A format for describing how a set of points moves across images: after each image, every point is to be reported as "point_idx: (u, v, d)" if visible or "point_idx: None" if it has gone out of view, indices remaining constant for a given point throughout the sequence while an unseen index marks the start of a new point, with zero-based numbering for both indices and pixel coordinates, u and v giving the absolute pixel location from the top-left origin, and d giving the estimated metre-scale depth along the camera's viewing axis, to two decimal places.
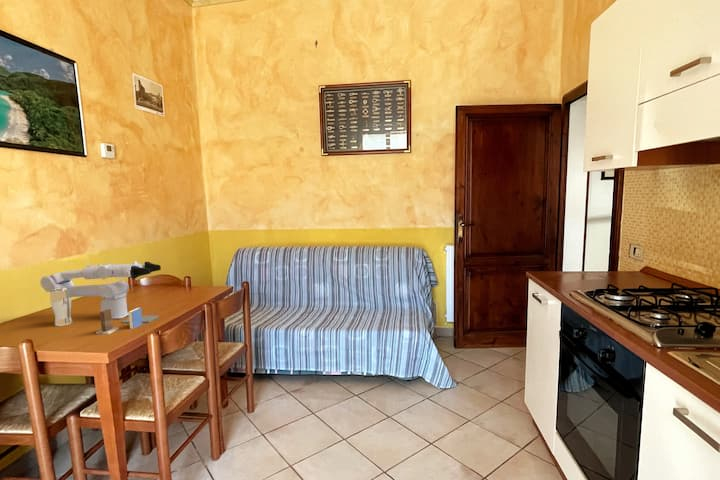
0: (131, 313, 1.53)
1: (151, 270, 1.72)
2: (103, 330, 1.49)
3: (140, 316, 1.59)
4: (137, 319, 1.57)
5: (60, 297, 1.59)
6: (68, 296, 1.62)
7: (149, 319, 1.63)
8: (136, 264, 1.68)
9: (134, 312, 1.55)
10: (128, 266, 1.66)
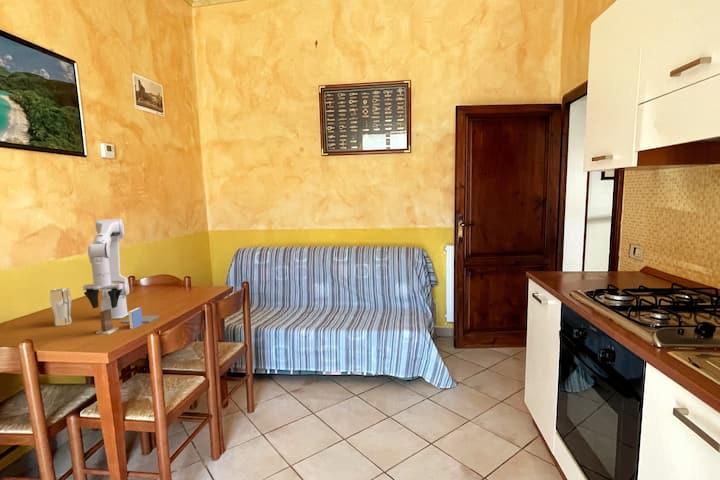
0: (131, 313, 1.53)
1: None
2: (103, 330, 1.49)
3: (140, 316, 1.59)
4: (137, 319, 1.57)
5: (60, 297, 1.59)
6: (68, 296, 1.62)
7: (149, 319, 1.63)
8: None
9: (134, 312, 1.55)
10: (93, 281, 1.47)
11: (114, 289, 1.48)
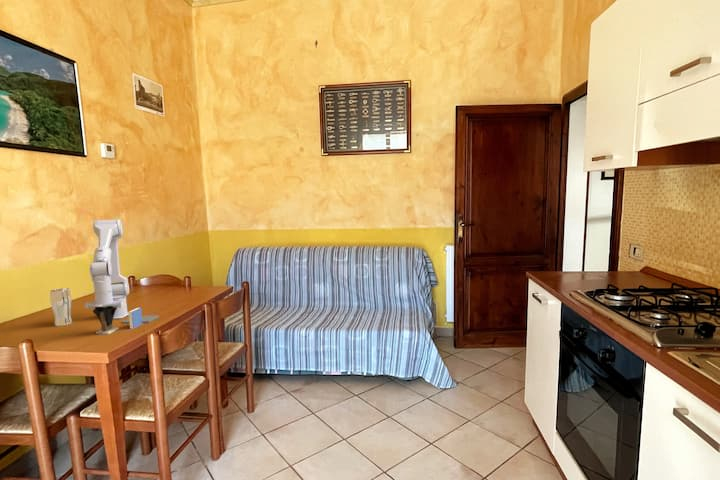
0: (131, 313, 1.53)
1: None
2: (103, 330, 1.49)
3: (140, 316, 1.59)
4: (137, 319, 1.57)
5: (60, 297, 1.59)
6: (68, 296, 1.62)
7: (149, 319, 1.63)
8: None
9: (134, 312, 1.55)
10: (95, 300, 1.48)
11: (116, 307, 1.49)
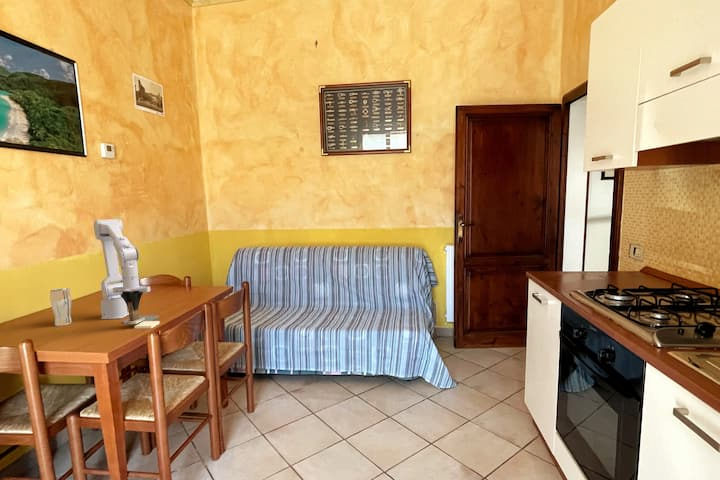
0: None
1: None
2: (131, 320, 1.55)
3: None
4: None
5: (60, 297, 1.59)
6: (68, 296, 1.62)
7: (149, 319, 1.63)
8: (127, 290, 1.53)
9: None
10: (123, 284, 1.53)
11: (142, 291, 1.54)
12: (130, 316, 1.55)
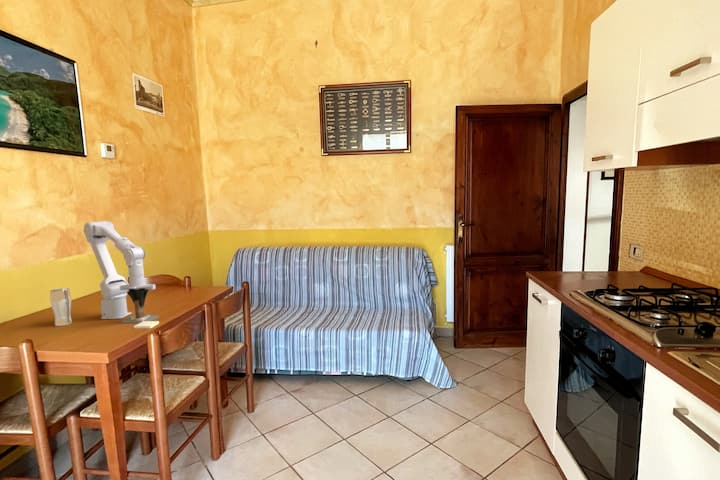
0: None
1: None
2: (137, 317, 1.63)
3: None
4: None
5: (60, 297, 1.59)
6: (68, 296, 1.62)
7: (149, 319, 1.63)
8: None
9: None
10: None
11: (148, 289, 1.63)
12: (136, 313, 1.63)
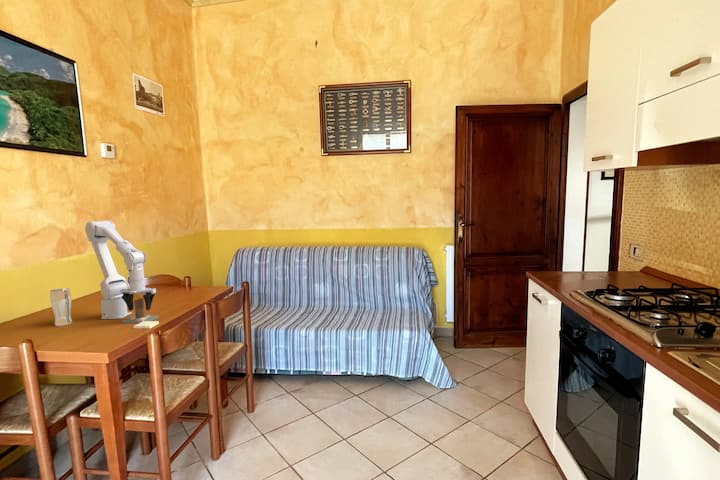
0: (148, 328, 1.54)
1: None
2: (137, 317, 1.63)
3: None
4: None
5: (60, 297, 1.59)
6: (68, 296, 1.62)
7: (149, 319, 1.63)
8: (134, 292, 1.61)
9: None
10: (130, 286, 1.61)
11: (148, 293, 1.63)
12: (136, 313, 1.63)
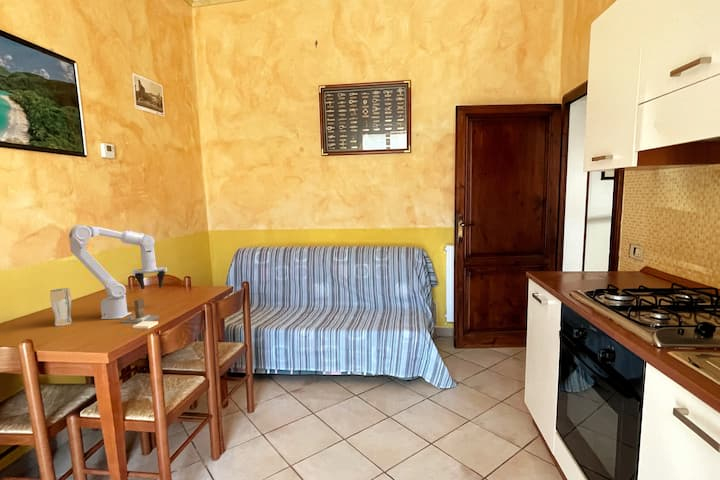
0: (146, 328, 1.54)
1: None
2: (137, 317, 1.63)
3: None
4: None
5: (60, 297, 1.59)
6: (68, 296, 1.62)
7: (149, 319, 1.63)
8: (148, 271, 1.77)
9: None
10: (143, 266, 1.76)
11: (161, 272, 1.80)
12: (136, 313, 1.63)
